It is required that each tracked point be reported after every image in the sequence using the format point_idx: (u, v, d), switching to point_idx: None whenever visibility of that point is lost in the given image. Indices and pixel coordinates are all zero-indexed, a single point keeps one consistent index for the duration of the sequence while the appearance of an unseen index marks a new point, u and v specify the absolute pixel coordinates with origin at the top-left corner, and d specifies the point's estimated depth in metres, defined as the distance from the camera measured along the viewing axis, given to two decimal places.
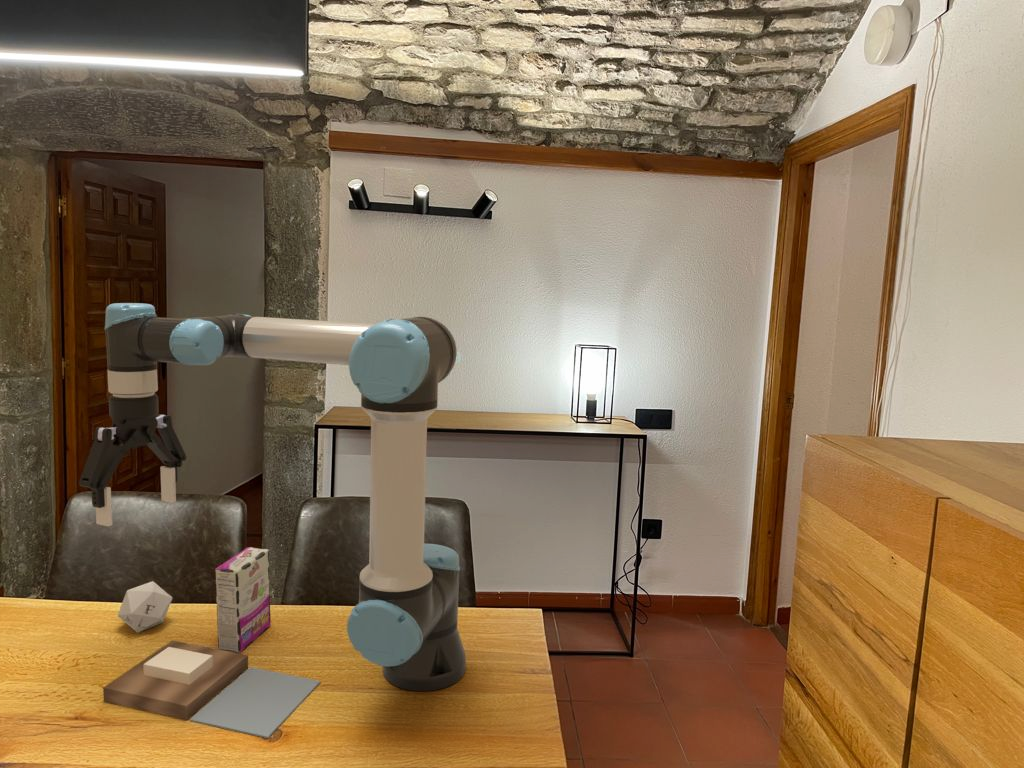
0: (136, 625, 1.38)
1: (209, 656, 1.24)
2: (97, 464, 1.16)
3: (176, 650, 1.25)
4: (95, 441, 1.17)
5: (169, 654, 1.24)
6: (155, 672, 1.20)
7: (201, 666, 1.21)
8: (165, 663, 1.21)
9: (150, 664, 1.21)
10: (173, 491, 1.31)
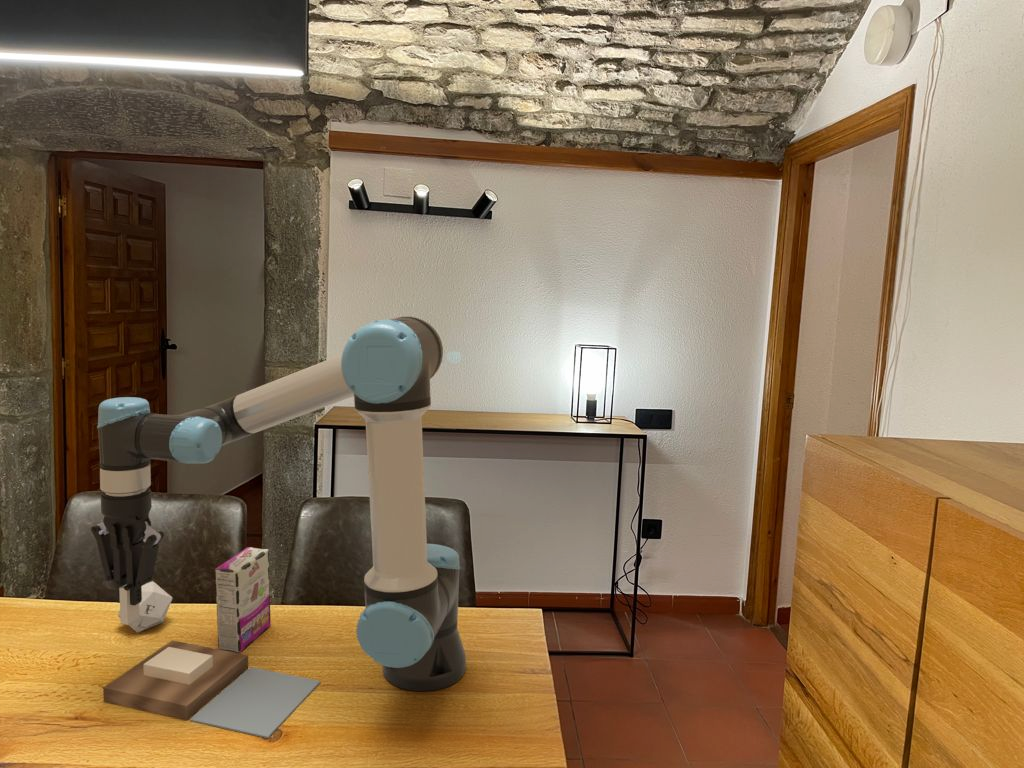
0: (136, 625, 1.38)
1: (209, 656, 1.24)
2: (101, 560, 1.22)
3: (176, 650, 1.25)
4: (106, 535, 1.24)
5: (169, 654, 1.24)
6: (155, 672, 1.20)
7: (201, 666, 1.21)
8: (165, 663, 1.21)
9: (150, 664, 1.21)
10: (124, 612, 1.22)
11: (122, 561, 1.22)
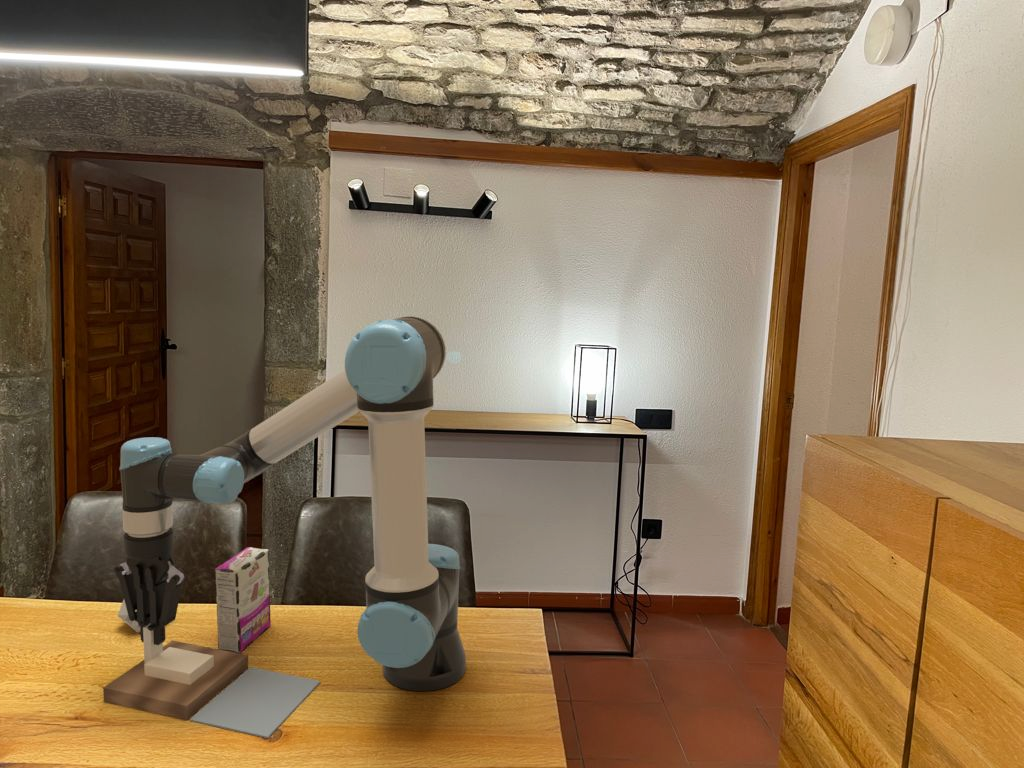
0: (136, 625, 1.38)
1: (210, 656, 1.24)
2: None
3: (177, 650, 1.25)
4: (129, 575, 1.24)
5: (170, 654, 1.24)
6: (156, 672, 1.20)
7: (202, 666, 1.21)
8: (166, 663, 1.21)
9: (151, 664, 1.20)
10: (148, 652, 1.22)
11: (145, 601, 1.22)
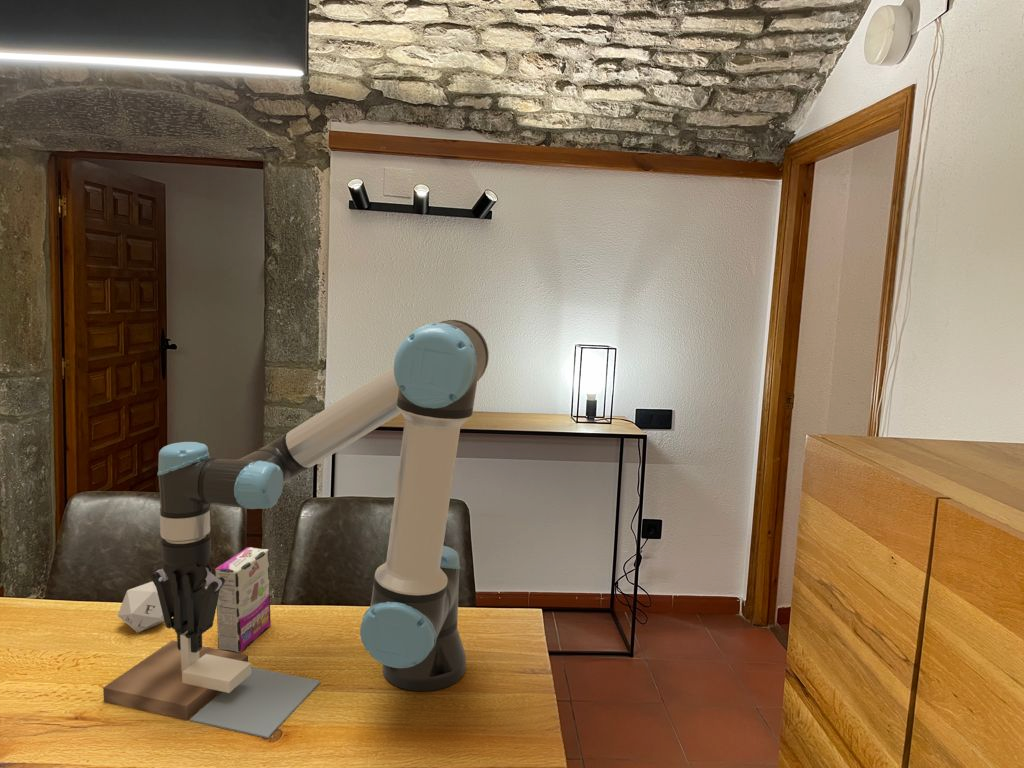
0: (136, 625, 1.38)
1: (247, 663, 1.22)
2: (161, 607, 1.20)
3: (213, 657, 1.23)
4: (165, 581, 1.22)
5: (207, 661, 1.22)
6: (194, 680, 1.18)
7: (241, 674, 1.20)
8: (204, 670, 1.19)
9: (189, 672, 1.19)
10: (185, 660, 1.20)
11: (182, 608, 1.20)
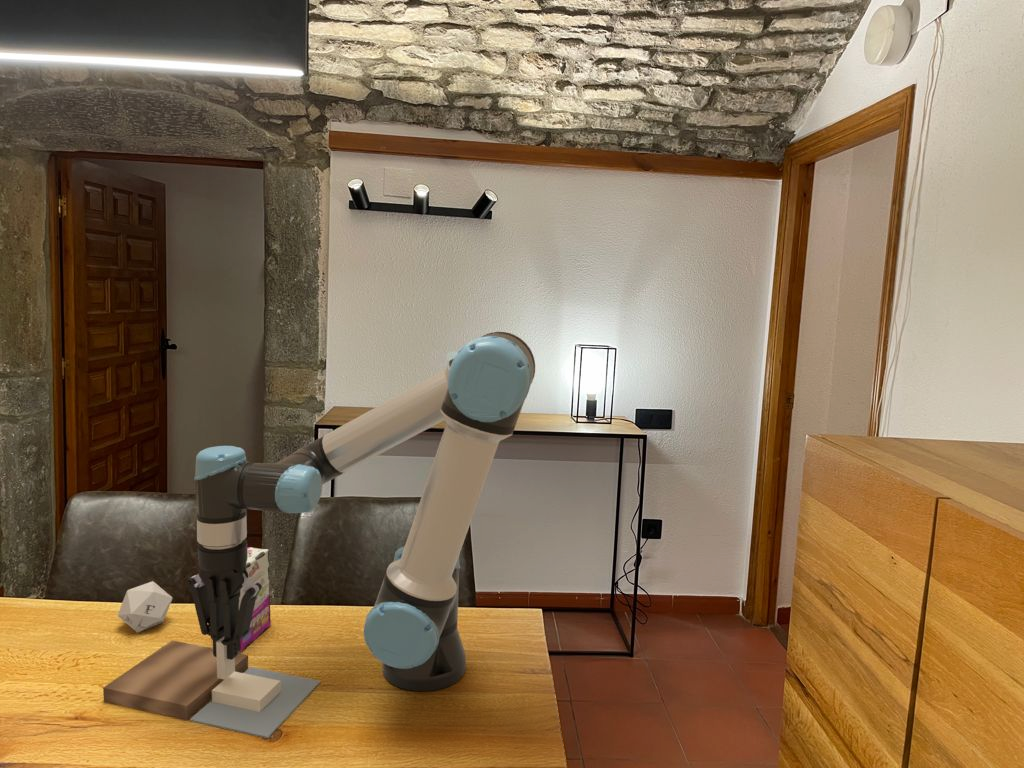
0: (136, 625, 1.38)
1: (277, 681, 1.21)
2: (197, 614, 1.18)
3: (242, 675, 1.22)
4: None
5: (236, 679, 1.21)
6: (224, 699, 1.17)
7: (271, 692, 1.19)
8: (233, 689, 1.18)
9: (218, 690, 1.18)
10: (221, 667, 1.19)
11: (218, 614, 1.18)
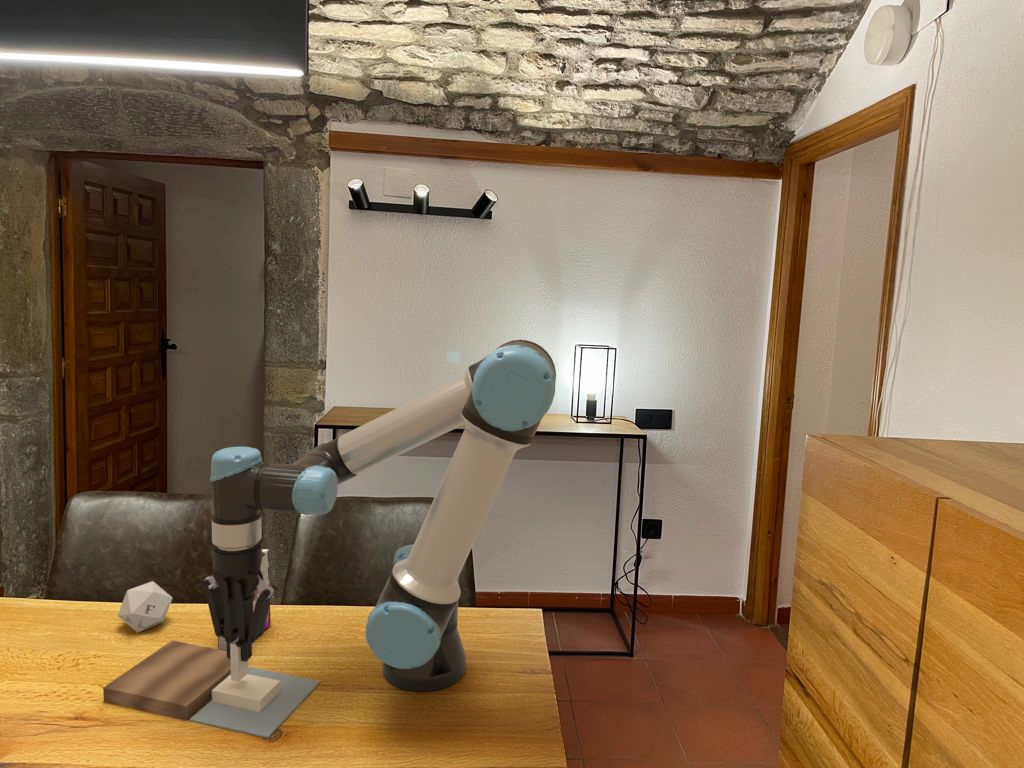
0: (136, 625, 1.38)
1: (277, 681, 1.21)
2: (211, 615, 1.18)
3: None
4: (214, 588, 1.19)
5: None
6: (224, 699, 1.17)
7: (271, 692, 1.19)
8: (233, 689, 1.18)
9: (218, 690, 1.18)
10: (235, 669, 1.18)
11: (233, 616, 1.17)
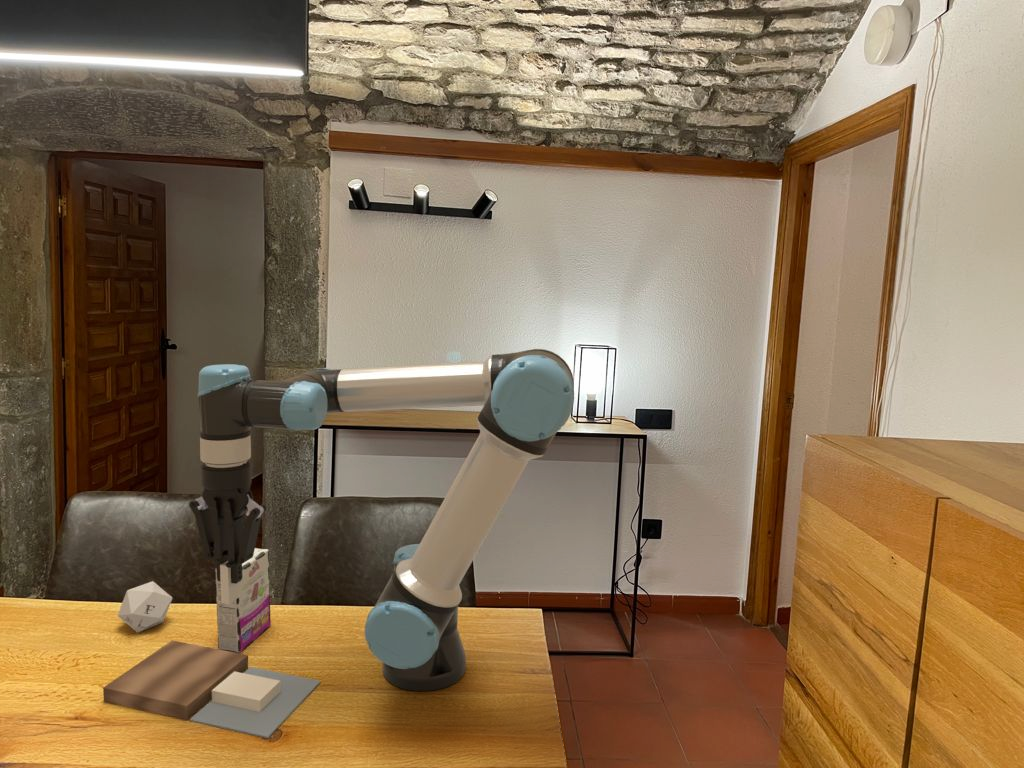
0: (136, 625, 1.38)
1: (277, 681, 1.21)
2: (200, 537, 1.16)
3: (242, 675, 1.22)
4: (203, 511, 1.18)
5: (236, 679, 1.21)
6: (224, 699, 1.17)
7: (271, 692, 1.19)
8: (233, 689, 1.18)
9: (218, 690, 1.18)
10: (225, 591, 1.16)
11: (222, 537, 1.16)
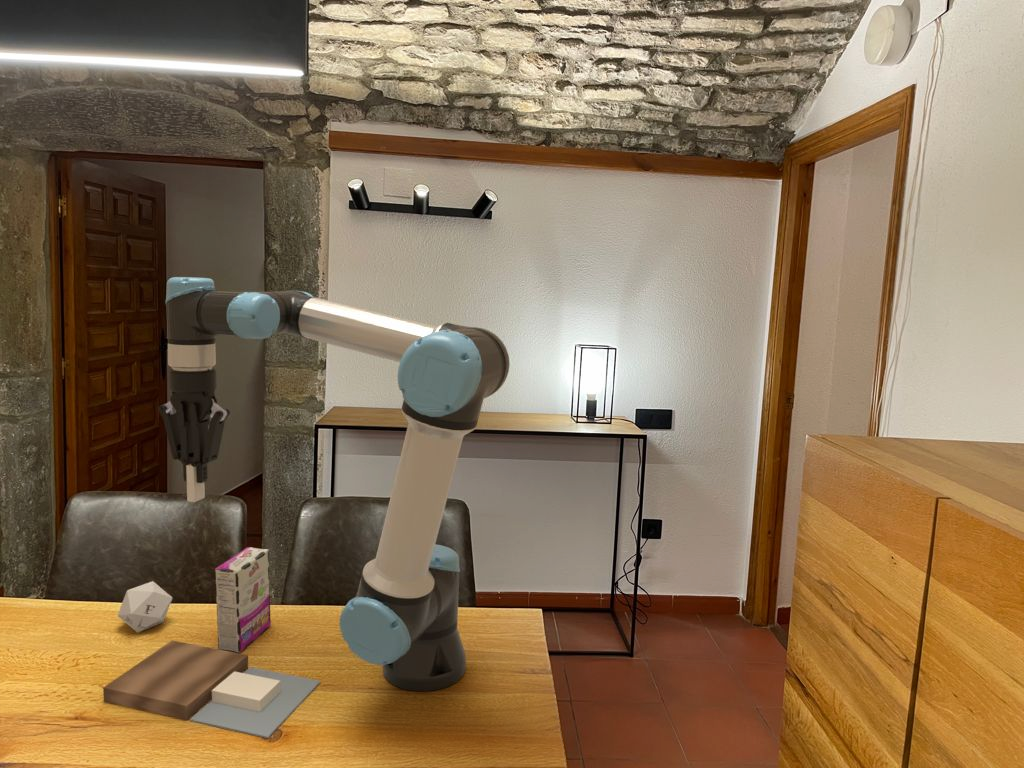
0: (136, 625, 1.38)
1: (277, 681, 1.21)
2: (168, 439, 1.25)
3: (242, 675, 1.22)
4: None
5: (236, 679, 1.21)
6: (224, 699, 1.17)
7: (271, 692, 1.19)
8: (233, 689, 1.18)
9: (218, 690, 1.18)
10: (191, 490, 1.25)
11: (189, 439, 1.24)
